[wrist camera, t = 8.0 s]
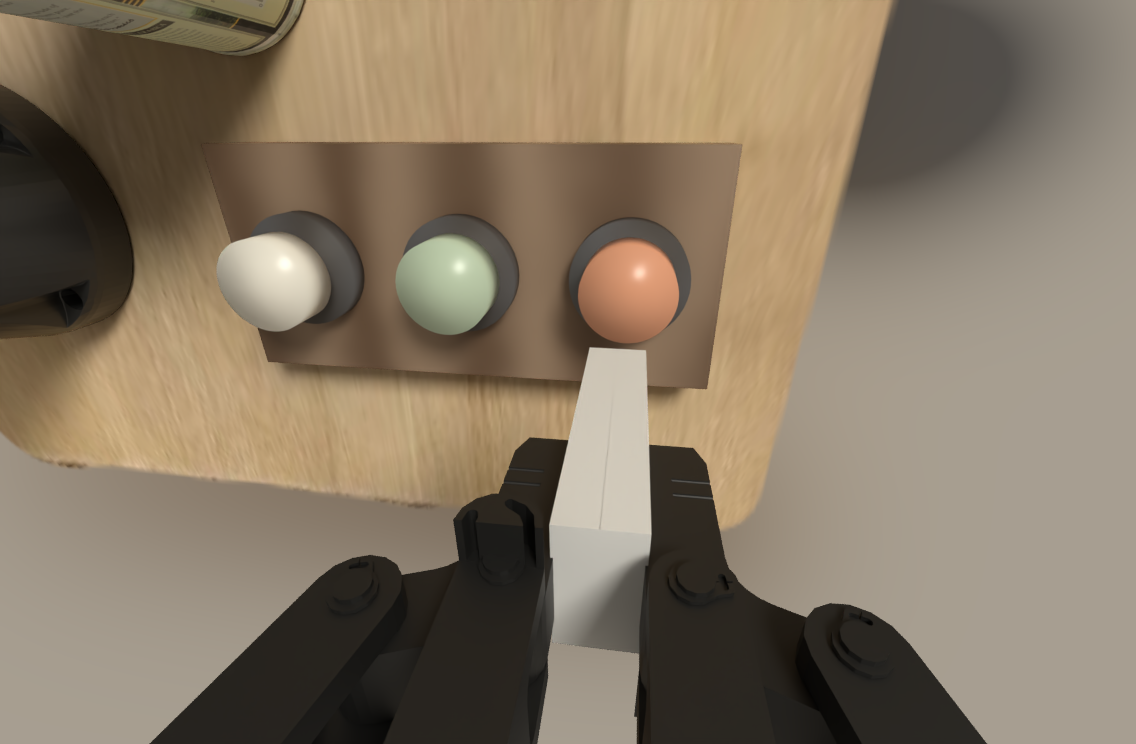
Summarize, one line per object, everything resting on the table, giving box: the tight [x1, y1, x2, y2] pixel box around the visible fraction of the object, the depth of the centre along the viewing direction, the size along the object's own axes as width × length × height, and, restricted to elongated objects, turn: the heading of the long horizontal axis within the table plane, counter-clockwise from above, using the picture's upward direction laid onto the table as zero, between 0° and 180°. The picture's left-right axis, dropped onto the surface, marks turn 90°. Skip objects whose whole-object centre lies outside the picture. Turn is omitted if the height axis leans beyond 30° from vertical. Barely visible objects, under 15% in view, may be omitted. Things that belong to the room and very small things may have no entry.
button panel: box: [201, 142, 742, 389], centre depth 26 cm, size 26×12×4 cm, turn 90°
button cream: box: [217, 232, 331, 332], centre depth 23 cm, size 4×4×2 cm
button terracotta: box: [578, 237, 679, 343], centre depth 22 cm, size 4×4×2 cm
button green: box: [395, 233, 500, 335], centre depth 23 cm, size 4×4×2 cm
